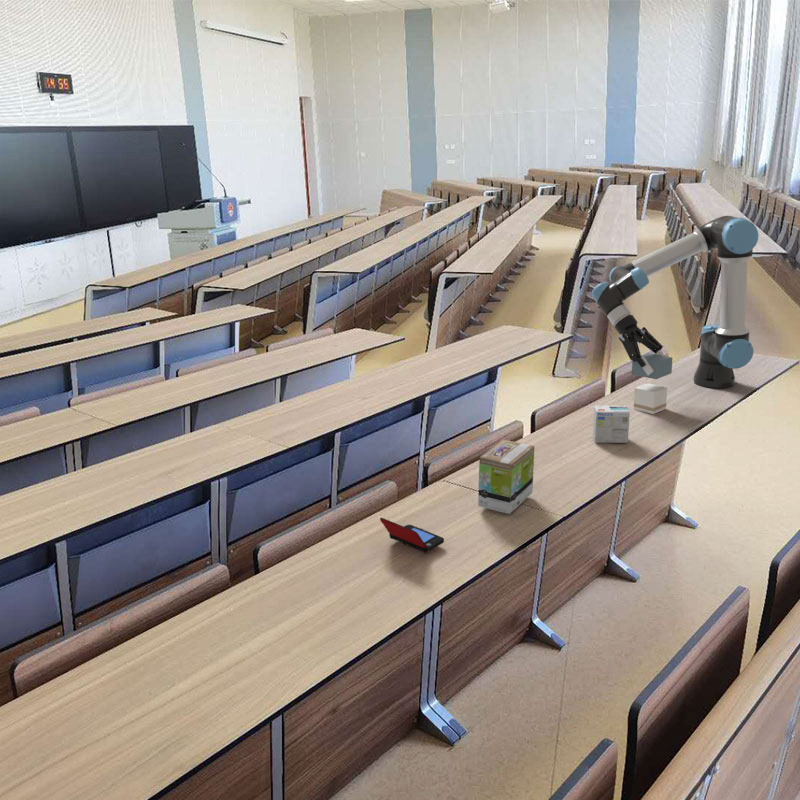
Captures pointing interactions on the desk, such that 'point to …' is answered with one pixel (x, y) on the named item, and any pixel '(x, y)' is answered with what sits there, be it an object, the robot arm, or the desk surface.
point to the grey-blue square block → (654, 366)
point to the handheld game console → (412, 536)
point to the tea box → (505, 476)
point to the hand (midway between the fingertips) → (659, 370)
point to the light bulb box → (611, 424)
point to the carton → (650, 398)
